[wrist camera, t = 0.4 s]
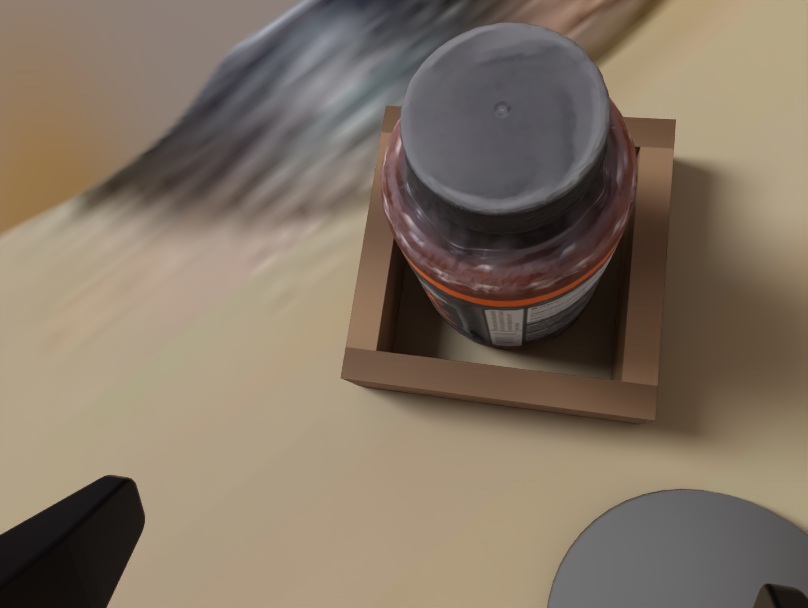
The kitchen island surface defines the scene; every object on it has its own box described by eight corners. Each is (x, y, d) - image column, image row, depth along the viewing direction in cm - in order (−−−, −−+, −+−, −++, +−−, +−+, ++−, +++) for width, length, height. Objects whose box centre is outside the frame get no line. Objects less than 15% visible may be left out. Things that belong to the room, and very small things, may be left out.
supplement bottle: (400, 235, 24) (302, 54, 13) (548, 164, 24) (572, -82, 13) (468, 382, 22) (420, 314, 12) (628, 309, 22) (734, 168, 11)
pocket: (639, 424, 21) (655, 420, 19) (359, 385, 23) (340, 378, 21) (659, 154, 23) (675, 119, 21) (398, 139, 25) (386, 105, 22)
